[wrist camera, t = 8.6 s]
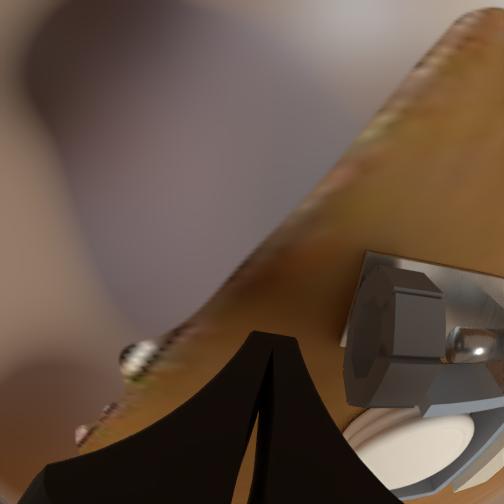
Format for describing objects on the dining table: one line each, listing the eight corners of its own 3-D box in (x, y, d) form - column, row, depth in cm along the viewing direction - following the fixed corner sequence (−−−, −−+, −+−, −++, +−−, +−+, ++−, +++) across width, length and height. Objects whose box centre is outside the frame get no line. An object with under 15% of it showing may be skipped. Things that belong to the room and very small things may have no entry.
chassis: (460, 460, 17) (470, 493, 12) (338, 475, 18) (339, 518, 14) (539, 358, 12) (565, 392, 7) (413, 362, 13) (438, 423, 9)
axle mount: (478, 350, 13) (522, 418, 7) (338, 342, 14) (353, 443, 8) (510, 278, 11) (575, 333, 5) (365, 250, 12) (416, 329, 6)
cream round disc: (324, 463, 18) (324, 497, 15) (360, 385, 15) (368, 429, 11) (427, 454, 17) (434, 483, 13) (482, 376, 13) (501, 408, 10)
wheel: (375, 354, 13) (397, 433, 8) (339, 350, 13) (350, 434, 8) (409, 258, 11) (465, 318, 6) (369, 250, 11) (412, 313, 6)
